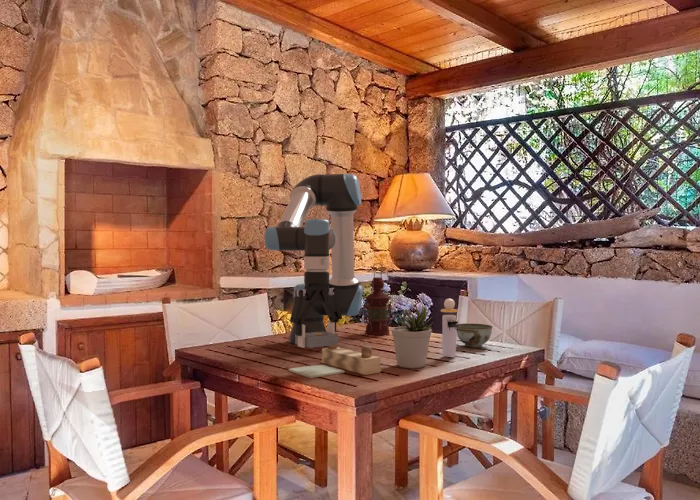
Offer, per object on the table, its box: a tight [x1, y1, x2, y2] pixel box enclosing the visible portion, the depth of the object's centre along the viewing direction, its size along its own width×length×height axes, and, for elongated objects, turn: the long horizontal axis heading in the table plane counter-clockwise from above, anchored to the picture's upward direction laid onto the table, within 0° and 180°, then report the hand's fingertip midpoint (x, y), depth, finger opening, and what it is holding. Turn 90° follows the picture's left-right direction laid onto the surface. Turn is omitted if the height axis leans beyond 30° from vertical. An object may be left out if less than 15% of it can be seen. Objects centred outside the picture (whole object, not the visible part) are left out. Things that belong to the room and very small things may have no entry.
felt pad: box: [288, 363, 345, 379], centre depth 182 cm, size 12×12×1 cm
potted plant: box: [391, 303, 434, 369], centre depth 191 cm, size 13×14×20 cm
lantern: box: [362, 262, 393, 337], centre depth 257 cm, size 12×12×30 cm
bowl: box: [456, 323, 493, 349], centre depth 227 cm, size 14×13×8 cm
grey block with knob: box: [294, 331, 339, 349], centre depth 182 cm, size 8×10×3 cm
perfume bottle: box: [440, 297, 459, 357], centre depth 205 cm, size 6×6×20 cm
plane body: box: [321, 332, 382, 376], centre depth 188 cm, size 22×6×10 cm, turn 38°
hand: (316, 345), depth 182 cm, fingers closed on grey block with knob, 10 cm apart
